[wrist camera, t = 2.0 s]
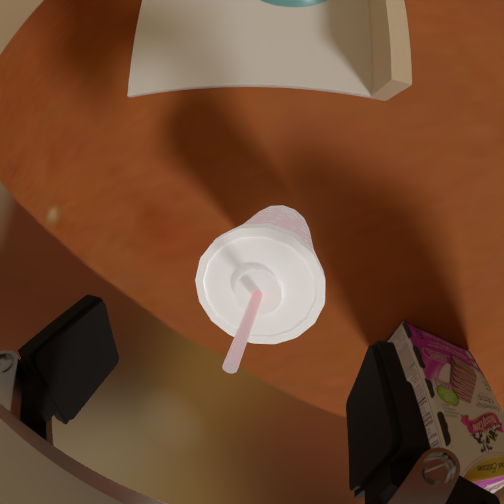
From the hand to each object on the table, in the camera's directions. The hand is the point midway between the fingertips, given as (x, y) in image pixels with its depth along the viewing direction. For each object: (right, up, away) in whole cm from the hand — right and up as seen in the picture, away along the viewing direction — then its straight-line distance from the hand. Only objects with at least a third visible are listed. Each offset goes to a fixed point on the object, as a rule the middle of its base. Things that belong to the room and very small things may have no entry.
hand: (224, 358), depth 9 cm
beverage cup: (+3, +5, +12) cm, 14 cm away
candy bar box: (+18, -6, +13) cm, 23 cm away
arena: (+1, +24, +5) cm, 24 cm away
